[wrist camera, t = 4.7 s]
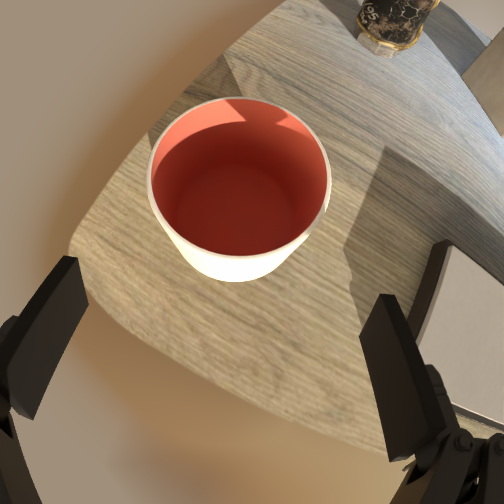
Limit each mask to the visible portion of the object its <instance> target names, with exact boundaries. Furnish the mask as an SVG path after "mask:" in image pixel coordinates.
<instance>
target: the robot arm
mask: <svg viewBox="0 0 504 504" xmlns="http://www.w3.org/2000/svg"><path fill="white" fill-rule="evenodd" d="M88 305H89V303H88V300H87V296H86V292H85V288H84V284H83V280H82V275H81V271H80V266H79V262H78V258H77V257H70V256H63V257H62V258H61V259H60V261H59V262H58V263H57V265H56V266H55V267H54V268H53V270H52V271H51V272H50V274H49V275H48V276H47V277H46V279H45V280H44V282H43V283H42V284H41V285H40V287H39V288H38V290H37V291H36V293H35V294H34V295H33V297H32V298H31V299H30V301H29V302H28V304H27V305H26V306H25V308H24V309H23V311H22V312H21V314H20V315H19V317H18V316H14V315H13V316H12V317H10V318H9V319H8V320H7V321H5V322H4V323H3V325H2V326H1V328H0V504H42V502H41V500H40V498H39V496H38V493H37V490H36V488H35V486H34V483H33V481H32V478H31V476H30V473H29V470H28V467H27V465H26V462H25V459H24V456H23V453H22V450H21V447H20V444H19V440H18V437H17V433H16V430H15V426H14V423H13V419H12V416H11V414H10V412H9V411H10V409H11V407H13V409H14V410H15V411H16V412H17V413H18V414H19V415H22V416H24V417H26V418H28V419H31V420H33V419H34V417H35V414H36V412H37V410H38V407H39V405H40V403H41V400H42V398H43V396H44V393H45V391H46V389H47V386H48V384H49V382H50V380H51V378H52V376H53V373H54V371H55V369H56V367H57V365H58V363H59V361H60V359H61V357H62V354H63V353H64V350H65V348H66V347H67V345H68V343H69V341H70V338H71V337H72V335H73V333H74V331H75V329H76V327H77V325H78V323H79V322H80V320H81V318H82V316H83V314H84V312H85V311H86V309H87V307H88ZM359 339H360V342H361V346H362V349H363V353H364V356H365V360H366V364H367V368H368V371H369V375H370V379H371V383H372V387H373V391H374V395H375V399H376V403H377V407H378V411H379V416H380V420H381V425H382V429H383V434H384V438H385V443H386V448H387V453H388V458H389V462H395V461H401V460H406V459H407V458H409V457H410V456H412V455H413V454H415V458H416V459H415V460H414V461H413V462H411V463H410V464H408V465H407V466H405V467H404V469H403V470H402V471H406V470H407V469H409V471H408V472H407V474H406V476H405V478H404V480H403V481H402V483H401V485H400V487H399V489H398V490H397V492H396V494H395V496H394V497H393V499H392V501H391V502H390V504H504V434H502V433H496V434H494V435H493V436H491V437H490V438H489V439H481V438H473V436H472V435H471V433H470V432H469V431H467V430H466V429H463V428H460V426H459V424H458V421H457V418H456V415H455V412H454V409H453V407H452V404H451V401H450V398H449V396H448V395H447V391H446V388H445V387H444V383H443V380H442V378H441V375H440V373H439V372H438V371H437V369H436V368H435V367H434V366H433V365H432V364H425V363H424V361H423V358H422V356H421V354H420V351H419V349H418V346H417V344H416V341H415V339H414V337H413V334H412V332H411V330H410V327H409V325H408V323H407V321H406V318H405V316H404V314H403V312H402V310H401V307H400V305H399V303H398V301H397V299H396V297H395V295H391V294H380V295H379V297H378V299H377V301H376V303H375V305H374V307H373V309H372V311H371V313H370V316H369V318H368V320H367V322H366V324H365V326H364V328H363V330H362V331H361V333H360V335H359ZM477 478H479V481H478V484H477Z"/></svg>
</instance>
